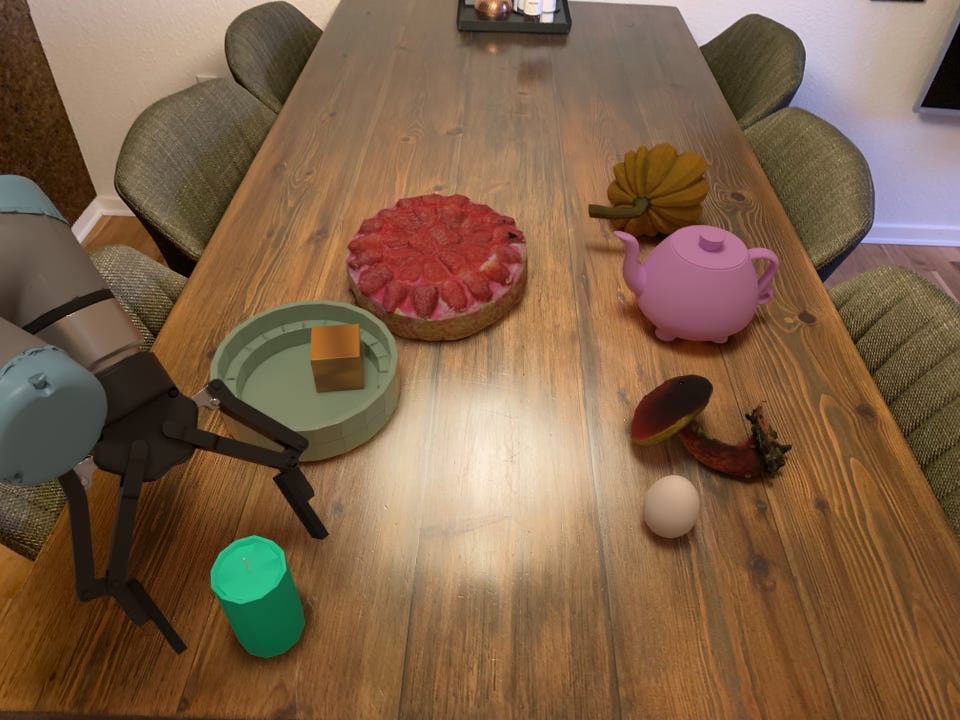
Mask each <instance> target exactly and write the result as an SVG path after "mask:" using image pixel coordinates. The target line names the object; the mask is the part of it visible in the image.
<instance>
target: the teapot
mask: <svg viewBox="0 0 960 720" xmlns="http://www.w3.org/2000/svg"><path fill="white" fill-rule="evenodd" d="M613 234H614V236H616V237H617V238H618V239H619V240H620V241H621V242H622V243H623V245H624V249H625V250H624V257H623V261H622V269H621V270H622V278H623V280H624V283H625V285H626V286H627V288H628V289H629V290H630V292H632V293H633V294H634V299H635V302H636V303H637V306H638V308H639V309H640V310H641V312H642V313H643V315H644V316H645V317H646V318H647V320H648V321H649V322H650V323H651V324H653V325H654V326H655V327H656V329H655V331H654V333H655V336H656V337H657V338H658V339H660V340H661V341H664V342H672V341H674V340H675V339H676V338H678V339H682V340H687V341H694V342H709V341H710V342H713V343H715V344H724V343H726V342H728V339H729V338H728V337H730V336H732V335H735V334H737V333H739V332H740V331H742V330H744V329H745V328H746V327H747V326H748V325H749V324H750V323H751V321H752V320H753V318H754V316H755V313H756V311H757V307H758V306H763V305H766V304H768V303H770V302H771V301H772V300H773V297H774V290H773V288H772V287H771V286H769V285H770V283H771V282H773V280H774V278H775V277H776V275H777V273H778V271H779V269H780V260H779V258H778V256H777V254H776V253H775V252H773V251H772V250H770V249H768V248H767V247H766V248H765V247H752V248H749V249H748V248H747V246H746V244H745V242H743V240H742V239H740V237H738V236H736V235H735V234H734V233H732V232H731V231H728V230H726V229H723V228H721V227H716V226H712V225H704V224H703V225H702V224H697V225H688V226H683V228H682V229H679V230H677V231H676V232H674V233H673V234H669V235H668V236H667V237H665V238H664V239H663V240H662V241H661V242H659V243H658V245H656V246H655V247H653V249H652V250H651V251H650V252H649V254H648V255H647V256H646V257H645V259H644V260H643V262H642V263H641V264H640V263H639V257H640V244H639V242H638V240H637V238H636V237H633V236H632V235H630V234H628V233H626V232H625V231H622V230H621V231H620V230H614V231H613ZM753 260H766V261H769V262H770V263H769V265H768V267H767V268H766V270H765V272H763V274H762V275H761V276H760V277H759V279H758V275H757V271H756V267H755V264H754V262H753Z"/></svg>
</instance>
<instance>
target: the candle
mask: <svg viewBox="0 0 960 720" xmlns="http://www.w3.org/2000/svg"><path fill="white" fill-rule="evenodd" d="M292 574H293V573H292V572H291V568H290V565H289V563H288V559H287V557H286V553H285V551H284V550H283V549H282V547H280V546H279V545H278V544H277V543H276V542H275V541H273V540H271V539H268V538H265V537H262V536H259V535H256V534H254V535H251V536H246V537H243V538H240V539H236V540H234V541H233V542H232V543H230V544H229V545H228V546H227V547H225V548H224V549H223V550H221V551H220V552H219V553H218V555H217V557H216V559H215V562H214V563H213V565H212V567H211V570H210V588H211V590H212V592H213V594H214V596H215V598H216V600H217V601H218V603H219V605H220V607H221V610H222V611H223V613H224V615H225V618H226V619H227V621H228V623H229V625H230V627H231V629H232V631H233V633H234V635H235V637H236V638H237V640H238V642H239V644H240V645H241V646H242V647H243V648H244V649H245V651H246V652H247V653H248V654H249V656H255V657H259V658H263V659H269V658H272V657H277V656H280V655H282V654H285V653H287V651H288V650H290V649H291V648H292V647H293V646H294V645H296V644H297V643H298V642H299V640H300V638H301V636H302V633H303V631H304V629H305V626H306V620H305V612H304V606H303V605H302V601H301V599H300V594H299V593H298V590H297V589H298V588H297V586H296V583H295V581H294V577H293V575H292Z"/></svg>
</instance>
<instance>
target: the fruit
mask: <svg viewBox="0 0 960 720" xmlns="http://www.w3.org/2000/svg"><path fill="white" fill-rule="evenodd" d="M708 167H709V165H708V163H707V162H706V160H705V158H704V156H703V155H702V154H698V153H695V152H691V151H684V152H682V153H679V154H678V150H677V148H676V147H675V146H673V145H672V144H670V143H669V142H665V143H664V142H663V143H657V144H656V145H654V146H653V147H651V149H648V148H647V146H646V145H645V146H644V145H643V146H638V148H637V150H636V151H634V150H633V149H631V150H629V151H628V152H626V153H625V152H624V159H623V162H618V163H616V164H615V165H613V167H612V168H613V169H612V172H613V175H614V179H613V180H612V181H611V182H610V184H609V185H608V186H607V188H606V189H607V190H606V196H607V200H608V201H609V203H610V204H612V205H613V206H605V205H601V204H594V203H588V204H587V211H588V216H589V219H599V220H612V223H613V225H614V226H615V227H616V228H623V232H625V233H628V234H630V235H632V236H633V237H635V238H636V237H640V236H642V235H645V236H647V237H656V236H657V235H658V234H659V233H661V234H663V235H671V234H673V233H674V232H676V231H677V230H679V229H682V228H684V227H688V226H691V225H692V224H694V223H696V222H698V221H699V220H701V218H702V214H703V209H704V207H703V205H702V203H703V202H704V201H705V200H706V198H707V196H708V194H709V191H710V188H709V184H708V181H707V178H706V177H704V176H703V175H705V172H706V171H707V170H708Z"/></svg>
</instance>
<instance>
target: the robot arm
mask: <svg viewBox="0 0 960 720" xmlns="http://www.w3.org/2000/svg"><path fill="white" fill-rule="evenodd" d="M145 340H146V339H145V337H144V336H143V335H142V333H141V332H140V330H139V329H138V327H137V326H136V324H135V322H134V321H133V319H131V317H130V316H129V314H128V313H127V311H126V310H125V308H124V306H122V303H121V302H120V301H119V300H118V298H117V297H116V296H115V294H114V293H113V292H112V290H111V288H110V287H109V285H108V283H107V282H106V280H105V279H104V277H103V276H102V274H101V273H100V272H99V269H98V268H97V267H96V265H95V264H94V262H93V261H92V259H91V258H90V256H89V255H88V254H87V251H86V250H85V249H84V247H83V246H82V245H81V243H80V241H79V239H78V238H77V236H76V235H75V234H74V232H73V229H72V226H71V224H70V223H69V221H68V220H67V218H65V217H64V216H63V215H62V213H60V211H59V210H58V208H57V207H56V206H55V205H54V203H53V202H52V200H51V199H50V198H49V196H48V195H46V194H45V193H44V192H43V190H42V189H41V187H40V186H39V185H38V184H37V183H36V182H34V181H33V180H32V179H30V178H28V177H25V176H22V175H18V174H0V483H1V484H5V485H9V486H14V487H19V488H20V487H21V488H22V487H26V488H27V487H34V486H39V485H43V484H46V483H49V482H50V481H53V480H56V483H57V484H58V486H59V488H60V489H61V491H62V493H63V496H64V497H65V498H66V503H67V515H68V524H69V525H68V526H69V537H70V538H69V539H70V548H71V557H72V559H71V560H72V568H73V581H74V590H75V595H76V597H77V599H78V600H79V601H80V602H81V603H90V602H92V601H93V600H94V601H95V600H97V599H99V598H102V597H110V598H111V597H112V598H113V599H114V600H115V602H116V603H117V604H118V606H119V607H120V609H121V610H122V612H124V614H125V615H126V616H127V618H128V619H129V621H130V622H131V623H132V624H133V626H136V627H138V628H139V629H141V628H142V627H143V626H144V625H146V624H147V623H149V622H150V621H152V623H153V624H154V625H155V627H156V628H157V630H158V631H159V632H160V634H161V635H162V636H163V638H164V639H165V640H166V642H167V644H168V645H169V646H170V647H171V649H172V650H173V651H174V652H175V653H176V654H177V656H180V655H182V654H183V653H184V652H185V651H186V650H188V646H187V645H186V643H185V642H184V640H183V639H182V638H181V637H180V635H179V633H178V632H177V631H176V630H175V628H174V627H173V625H172V624H171V623H170V621H169V619H168V618H167V617H166V616H165V614H164V612H162V610H161V609H160V607H159V606H158V605H157V604H156V602H155V601H154V599H153V598H152V596H151V595H150V594H149V592H148V591H147V589H146V588H145V587H144V586H143V584H142V583H141V581H140V580H139V579H138V578H137V577H135V576H132V577H131V578H129V579H127V576H128V569H129V563H130V558H131V557H130V556H131V552H132V551H131V550H132V545H133V539H134V531H135V525H136V519H137V513H138V507H139V503H140V502H139V501H140V498H141V494H142V488H143V483H151V482H157V481H158V480H160V479H162V478H163V477H165V476H166V475H167V474H168V473H169V472H170V471H171V470H172V469H173V467H177V466H181V465H183V464H185V463H186V462H188V461H189V460H192V458H193V456H194V454H195V452H196V450H199V451H204V452H209V453H213V454H218V455H221V456H225V457H228V458H233V459H236V460H240V461H243V462H249V463H251V464H256V465H258V466H263V467H267V468H271V469H275V470H278V471H279V472H278V473H277V474H276V475H274V476H272V478H271V480H273V482H274V484H275V485H276V487H277V488H278V490H279V491H280V492H281V494H282V496H283V498H284V499H285V500H286V501H287V503H288V505H289V506H290V508H291V509H292V510H293V512H294V514H295V515H296V516H297V518H298V520H299V521H300V523H301V524H302V525H303V527H304V529H305V530H306V532H307V533H308V534H309V536H310V537H311V539H313V540H319V541H324V540H325V539H326V538H328V537H329V536H330V533H329V531H328V530H327V528H326V527H325V525H324V524H323V522H322V521H321V519H320V517H319V516H318V515H317V513H316V512H315V510H314V508H313V507H312V506H311V504H310V502H309V501H310V500H311V499H312V498H313V499H314V497H315V496H316V494H315V490H314V488H313V486H312V485H311V483H310V482H309V480H308V479H307V477H306V476H305V474H304V472H303V471H302V469H301V468H300V466H299V465H300V462H299V457H300V456H301V454H302V453H303V451H304V450H306V449H307V448H308V446H309V442H308V440H307V439H306V438H305V437H303V436H302V435H300V434H298V433H296V432H295V431H293V430H291V429H290V428H288V427H286V426H284V425H283V424H281V423H279V422H278V421H276V420H274V419H272V418H271V417H269V416H267V415H266V414H264V413H262V412H261V411H259V410H257V409H255V408H254V407H252V406H250V405H249V404H247V403H245V402H243V401H242V400H240V399H238V398H237V397H235V396H234V394H233V393H232V392H231V391H230V390H229V388H228V387H227V386H226V385H225V384H224V382H223V381H222V380H220V379H213V380H211V381H210V380H209V381H208V382H206V383H204V385H203V386H202V388H201V389H200V390H199V391H197V392H195V394H193V395H191V396H190V397H188V396H187V395H185V394H183V393H182V391H181V390H180V389H179V388H178V386H177V385H176V383H175V382H174V380H173V379H172V377H171V376H170V375H169V373H168V371H167V370H166V369H165V367H164V365H163V364H162V362H161V361H160V360H159V357H157V355H156V354H155V352H154V351H150V350H149V349H146V350H144V349H143V348H142V346H143V345H144V344H145ZM200 407H201V408H202V407H203V408H205V409H207V410H209V411H217V410H218V411H219V412H220V411H221V412H223V413H224V414H226V415H227V416H229V417H231V418H233V419H234V420H236V421H238V422H240V423H241V424H243V425H245V426H247V427H248V428H250V429H252V430H254V431H255V432H257V433H259V434H261V435H262V436H264V437H266V438H268V439H269V440H271V441H273V442H275V443H276V444H278V445H280V446H282V447H283V448H284V450H283V451H282V452H277V451H274V450H270V449H266V448H263V447H259V446H255V445H252V444H248V443H245V442H241V441H237V440H236V439H235V438H234V439H233V438H231V437H226V436H222V435H219V434H218V433H214V432H211V431H206V430H203V429H200V428H198V427H199V414H200V413H199V408H200ZM89 454H90V457H88V458H86V457H87V456H88V455H89ZM96 470H99V471H102V472H105V473H109V474H113V475H115V476H119V483H118V488H117V497H116V498H117V500H116V505H115V512H114V518H113V523H112V530H111V535H110V540H109V541H110V542H109V547H108V553H107V560H106V565H105V571H104V575H103V576H99V577H97V578H96V569H95V559H94V550H93V538H92V528H91V517H90V505H89V498H88V495H87V492H86V491H87V490H89V489H91V487H92V486H93V484H94V480H93V474H94V472H95V471H96Z"/></svg>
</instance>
